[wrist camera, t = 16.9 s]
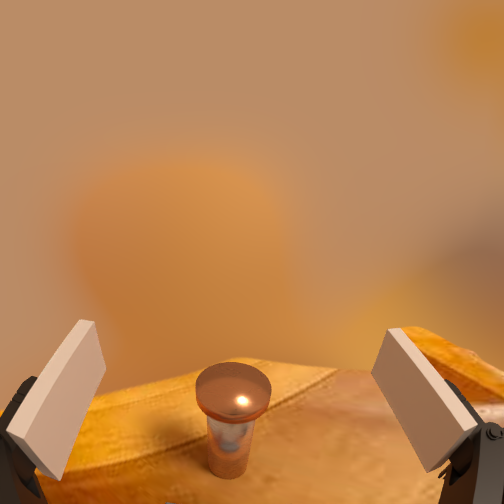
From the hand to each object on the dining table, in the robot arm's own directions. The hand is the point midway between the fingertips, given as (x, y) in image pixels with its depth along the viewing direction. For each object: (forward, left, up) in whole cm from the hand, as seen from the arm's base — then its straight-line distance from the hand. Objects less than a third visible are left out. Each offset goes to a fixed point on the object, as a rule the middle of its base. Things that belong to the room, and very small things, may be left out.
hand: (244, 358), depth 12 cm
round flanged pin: (0, -10, -28) cm, 30 cm away
